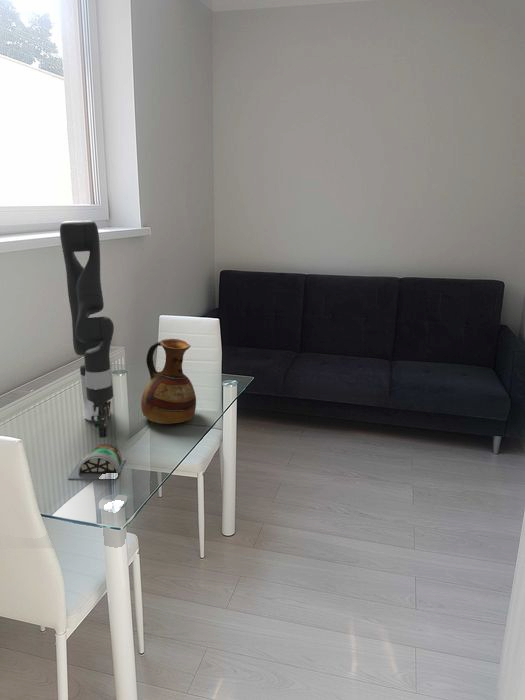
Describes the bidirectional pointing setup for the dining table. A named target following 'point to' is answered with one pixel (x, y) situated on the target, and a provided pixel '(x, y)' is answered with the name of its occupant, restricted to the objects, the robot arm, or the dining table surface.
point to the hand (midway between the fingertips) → (103, 436)
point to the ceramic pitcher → (168, 386)
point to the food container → (102, 460)
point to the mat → (87, 476)
